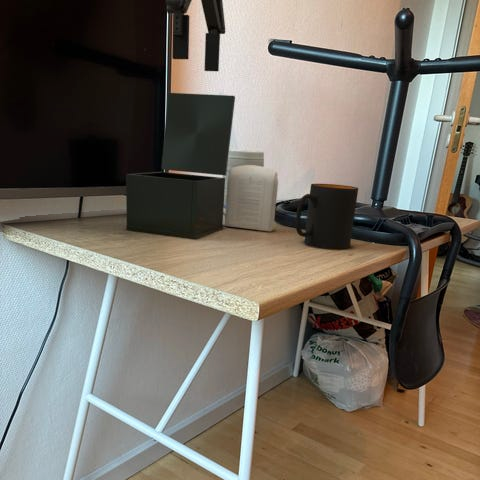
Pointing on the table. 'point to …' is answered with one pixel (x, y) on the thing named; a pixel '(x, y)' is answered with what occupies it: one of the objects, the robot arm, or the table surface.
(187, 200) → the bin
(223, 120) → the bin lid
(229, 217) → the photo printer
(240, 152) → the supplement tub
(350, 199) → the mug
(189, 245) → the table surface
